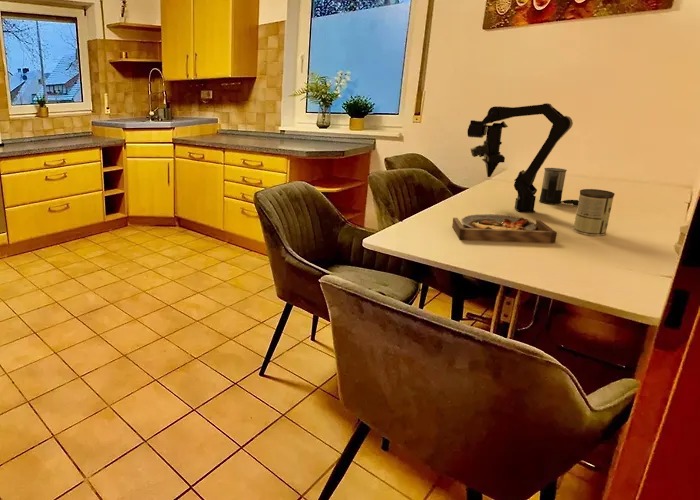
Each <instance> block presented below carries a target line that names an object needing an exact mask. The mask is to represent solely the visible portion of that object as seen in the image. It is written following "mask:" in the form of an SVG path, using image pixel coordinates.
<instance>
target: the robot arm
mask: <svg viewBox="0 0 700 500" xmlns="http://www.w3.org/2000/svg"><path fill="white" fill-rule="evenodd" d="M535 115H536V116H537V115H543V116H544V117H545V118H546V119H547V120H548V121H549V122H550V123H551V124H552V126H551V128H550V130H549V132H548V136H547V138H546V140H545V141H544V143H543V145H542V146H541V147H540V149H539V151H537V154H536V155H535V157H534V158H533V160H532V161H531V163H530V165H528V167H527V168H526V170H524V169H523V170H520V171H519V172H518V175H517V176H516V178H515V179H514V184H513V187H514V189H515V190H516V192H517V197H516V198H515V201H514V202H515V204H514V209H515V210H516V211H518V212H520V213H536V210H535V206H536V196H535V195H536V194H537V191H538V189H537V188H536V186H534V182H535V180H536V177H537V173H538V171H540V169H541V167H542V166H543V164H544V163H545V162H546V159H548V157H549V155H550V154H551V153H552V151H553V149H554V148H555V147H556V145H557V144H558V142H559V141H560V140H561V139H562V138H563V137H564V136H565V135H566V134H567V133H568V131H570V130H571V128H572V127H573V123H574V122H573V119H572V118H571V117H570V116H568V115H563V114H562V112H560V111H559V110H557V108H555V107H554V106H553V104H551V103H547V102H546V103H545V102H544V103H542V104H536V105H535V104H533V105H524V106H515V107H513V106H512V107H511V106H502V105H501V106H492V107H489V109H488V111H487V113H486V116H485V117H484V118H483V120H475V119H474V120H473V119H471V120H470V122H469V124H468V128H467V136H468V138H478V139H483V138H484V136H485V140H484V141H483V144H481V145H480V144H479V145H476V146H474V147H471V148H470V153H471V156H472V157H473V158H476V157H479V158H482V157H483V158H482V159H481V160H482V161H483V162H484V164H485V168H486V176H487V178H491V177H492V175H493V173H494V171H495V170H496V169H497V167H498V165H499V164H500V163H505V159H506V157H505V156H504V155H503V154H501V152H500V149H501V148H500V147H501V145H503V144H502V143H503V142H502V132H503V128H504V129H505V128H508V127H509V125H507V124H506V121H504V120H508V119H511V118H515V117H526V116H535ZM500 121H501V122H500ZM490 124H491V125H490Z"/></svg>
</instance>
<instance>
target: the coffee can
mask: <svg viewBox="0 0 700 500" xmlns="http://www.w3.org/2000/svg"><path fill="white" fill-rule="evenodd" d="M614 197H615V192H613V191H610V190H605V189H598V188H597V189H595V188H583V189H580V191H579V197H578V206H576V207H577V208H576V213H575V218H574V219H575V220H574V224H573V229H572V231H573V232H575V233H577V234H580V235H584V236H588V237H589V236H590V237H603V236H606V235H607V229H608V225H609V220H610V214H611V211H612V206H613V201H614Z"/></svg>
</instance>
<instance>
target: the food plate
mask: <svg viewBox="0 0 700 500" xmlns="http://www.w3.org/2000/svg"><path fill="white" fill-rule="evenodd" d="M460 222H461V224H462V225H465V226H467V227H468V228H475V229H504V230H534V231H535V229H537V228H538V227H537V226H536V222H533V221H530V219H526V218H524V217H516V216H509V215H503V214H495V213H494V214H491V213H486V214H471V215H466V216H464V217H462V218H461V221H460ZM502 222H503V223H502ZM501 223H502V224H501Z"/></svg>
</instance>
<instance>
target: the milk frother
mask: <svg viewBox="0 0 700 500" xmlns="http://www.w3.org/2000/svg"><path fill="white" fill-rule="evenodd" d="M567 171H568V170H567V169H566V168H559V167H558V168H557V167H544V173H543V179H542V183H541V184H542V185H541V192H540V196H539V200H538V201H539V203H543V204H547V205H548V204H550V205H561V204H562V203H563V204H567V205H572V206H573V207H578V201H579V199H565V200H562V195H563V191H564V185H565V180H566V174H567Z"/></svg>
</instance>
